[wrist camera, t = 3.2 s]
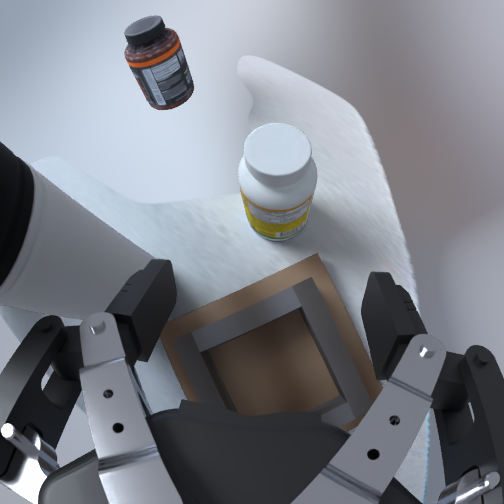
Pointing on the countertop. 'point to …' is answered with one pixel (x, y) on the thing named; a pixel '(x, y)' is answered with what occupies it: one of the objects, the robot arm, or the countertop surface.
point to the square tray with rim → (276, 350)
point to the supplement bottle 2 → (277, 180)
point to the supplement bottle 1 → (158, 63)
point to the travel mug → (57, 248)
